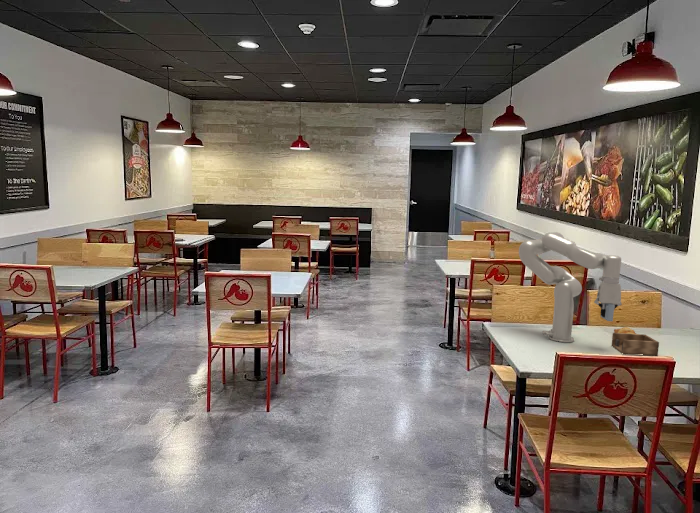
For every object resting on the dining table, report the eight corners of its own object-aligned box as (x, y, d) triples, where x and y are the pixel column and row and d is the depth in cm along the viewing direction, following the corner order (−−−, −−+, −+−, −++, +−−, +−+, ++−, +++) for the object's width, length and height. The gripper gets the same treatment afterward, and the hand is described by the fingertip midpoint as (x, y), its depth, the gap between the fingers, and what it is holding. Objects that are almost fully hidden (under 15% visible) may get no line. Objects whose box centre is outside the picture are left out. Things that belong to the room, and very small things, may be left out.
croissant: (642, 352, 270) (651, 339, 270) (627, 343, 269) (636, 330, 268) (618, 339, 291) (626, 327, 291) (604, 331, 290) (612, 319, 289)
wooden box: (623, 354, 252) (624, 340, 252) (611, 345, 266) (612, 332, 265) (657, 356, 251) (659, 342, 250) (643, 347, 265) (645, 334, 264)
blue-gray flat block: (607, 321, 254) (608, 305, 253) (599, 316, 263) (601, 301, 262) (612, 321, 254) (614, 305, 253) (605, 316, 262) (607, 301, 261)
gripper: (596, 280, 253) (592, 317, 255) (630, 282, 251) (626, 319, 254) (590, 278, 260) (586, 314, 262) (624, 280, 259) (620, 316, 261)
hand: (606, 316), depth 258 cm, fingers closed on blue-gray flat block, 2 cm apart
